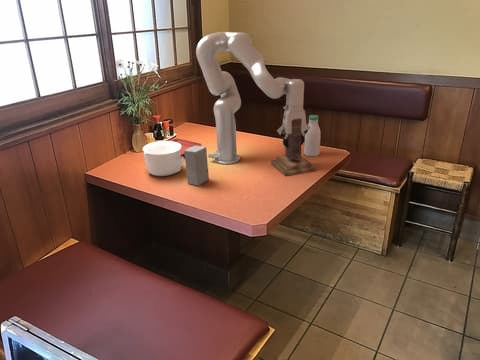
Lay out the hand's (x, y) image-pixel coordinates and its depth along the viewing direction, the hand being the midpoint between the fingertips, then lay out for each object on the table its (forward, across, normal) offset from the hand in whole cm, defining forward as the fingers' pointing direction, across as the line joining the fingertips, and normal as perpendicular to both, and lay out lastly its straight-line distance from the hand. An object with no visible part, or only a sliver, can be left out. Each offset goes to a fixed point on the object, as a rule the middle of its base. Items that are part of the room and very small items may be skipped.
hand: (293, 144), depth 192 cm
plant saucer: (+12, -46, +43) cm, 64 cm away
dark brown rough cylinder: (+7, 0, 0) cm, 7 cm away
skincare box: (+12, -46, +2) cm, 47 cm away
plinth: (+11, 0, 0) cm, 11 cm away
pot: (+12, -58, +19) cm, 62 cm away
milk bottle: (+11, +16, +11) cm, 23 cm away
